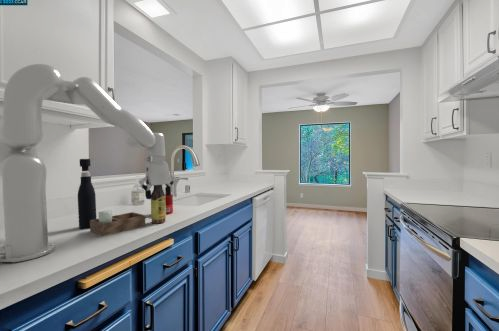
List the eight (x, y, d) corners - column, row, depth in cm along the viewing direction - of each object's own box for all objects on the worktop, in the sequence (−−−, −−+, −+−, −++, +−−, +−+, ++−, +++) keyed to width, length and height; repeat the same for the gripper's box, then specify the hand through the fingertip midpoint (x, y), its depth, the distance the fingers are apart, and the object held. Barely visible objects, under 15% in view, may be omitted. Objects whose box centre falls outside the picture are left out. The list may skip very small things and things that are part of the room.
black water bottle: (98, 226, 102) (95, 158, 101) (80, 230, 97) (77, 158, 96) (94, 224, 106) (91, 159, 106) (77, 227, 102) (74, 159, 101)
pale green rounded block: (101, 231, 91) (101, 213, 91) (97, 229, 94) (96, 212, 94) (114, 228, 95) (113, 211, 95) (109, 226, 98) (109, 210, 98)
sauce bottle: (161, 224, 103) (159, 179, 102) (148, 223, 104) (146, 179, 104) (168, 220, 109) (167, 178, 109) (157, 220, 110) (155, 178, 110)
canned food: (175, 211, 128) (174, 191, 128) (168, 215, 120) (167, 194, 120) (163, 211, 129) (162, 192, 129) (154, 215, 121) (153, 194, 121)
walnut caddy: (101, 236, 88) (100, 224, 88) (90, 231, 95) (89, 220, 95) (145, 225, 102) (145, 215, 102) (133, 221, 109) (132, 212, 109)
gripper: (142, 160, 97) (144, 201, 98) (177, 159, 110) (179, 194, 111) (133, 161, 102) (136, 199, 102) (168, 159, 115) (170, 193, 116)
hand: (158, 197), depth 107 cm, fingers open, 9 cm apart
